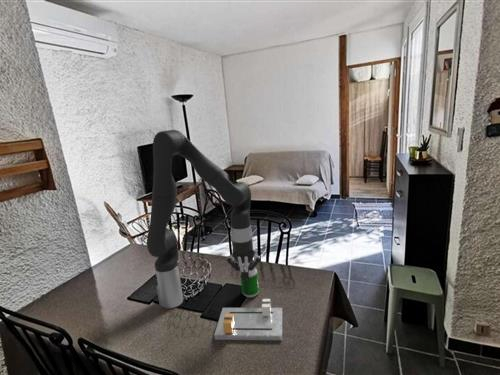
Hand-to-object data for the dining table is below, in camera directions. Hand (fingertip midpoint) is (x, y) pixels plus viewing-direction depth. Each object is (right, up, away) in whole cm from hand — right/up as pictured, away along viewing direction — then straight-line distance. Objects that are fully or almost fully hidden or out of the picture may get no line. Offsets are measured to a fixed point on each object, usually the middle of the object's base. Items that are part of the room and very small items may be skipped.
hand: (245, 279), depth 111 cm
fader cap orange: (-6, -17, -4) cm, 18 cm away
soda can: (+2, -12, +19) cm, 23 cm away
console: (+2, -17, 0) cm, 17 cm away
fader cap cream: (+8, -14, +3) cm, 16 cm away
